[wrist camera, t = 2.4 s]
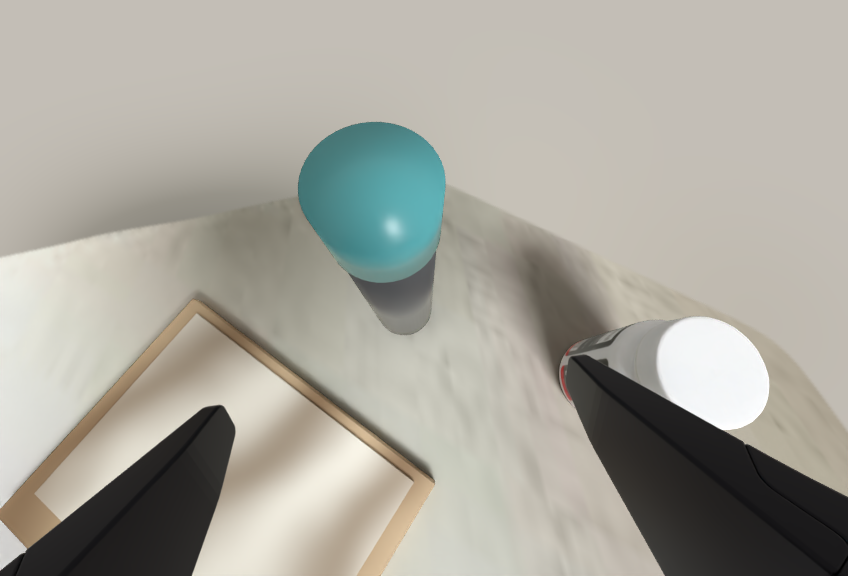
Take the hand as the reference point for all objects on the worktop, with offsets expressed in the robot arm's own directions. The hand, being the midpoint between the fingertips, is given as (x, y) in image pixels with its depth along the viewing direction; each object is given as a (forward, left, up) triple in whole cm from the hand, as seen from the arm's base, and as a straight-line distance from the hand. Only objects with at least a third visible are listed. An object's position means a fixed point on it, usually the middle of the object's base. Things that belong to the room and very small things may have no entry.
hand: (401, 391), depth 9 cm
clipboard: (+5, +10, -11) cm, 16 cm away
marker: (+3, -4, -11) cm, 13 cm away
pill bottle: (-9, -7, -12) cm, 16 cm away
